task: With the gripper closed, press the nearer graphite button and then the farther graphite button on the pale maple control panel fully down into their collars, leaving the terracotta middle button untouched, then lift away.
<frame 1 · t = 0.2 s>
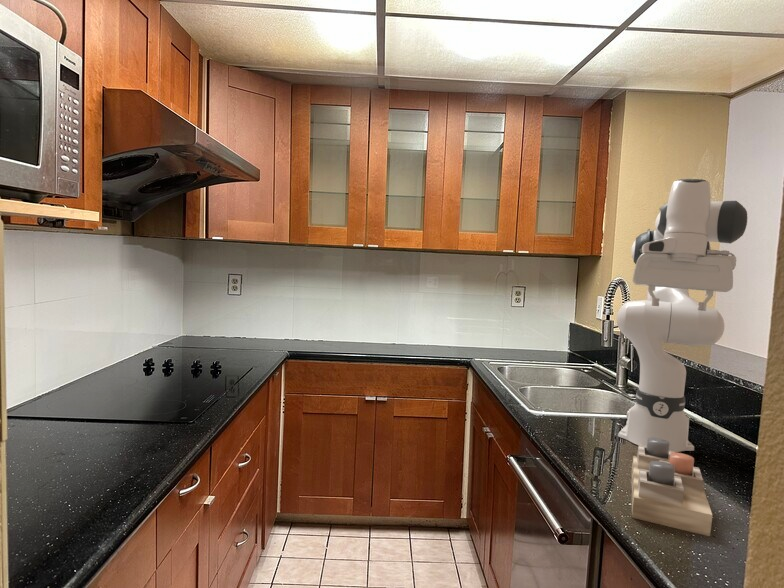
hand: (678, 308, 123), 39 cm above the table, tool pointing down, fingers open, 8 cm apart
middle button: (681, 463, 110), point 8 cm above the table, slide at 0.0 cm
button 1: (657, 447, 119), point 8 cm above the table, slide at 0.0 cm
control panel: (665, 500, 112), on the table
button 2: (661, 472, 105), point 8 cm above the table, slide at 0.0 cm
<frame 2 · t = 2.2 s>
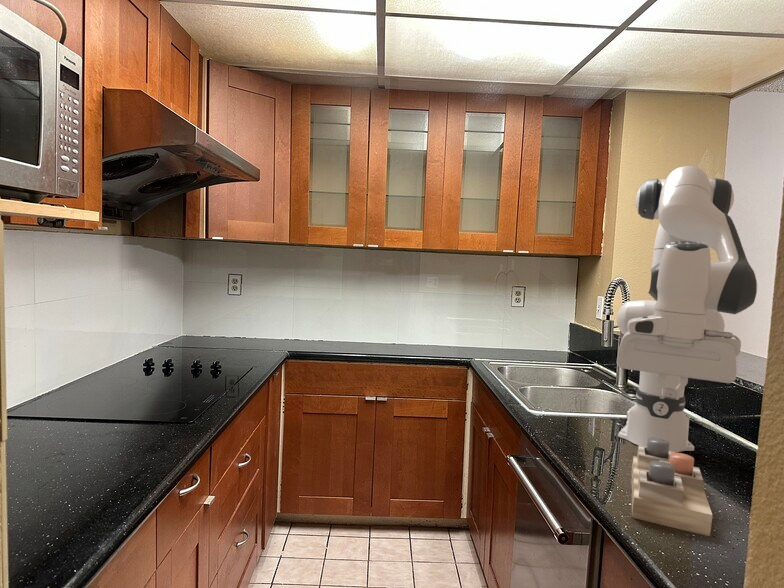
hand: (670, 398, 103), 23 cm above the table, tool pointing down, fingers closed
nothing on the table moved.
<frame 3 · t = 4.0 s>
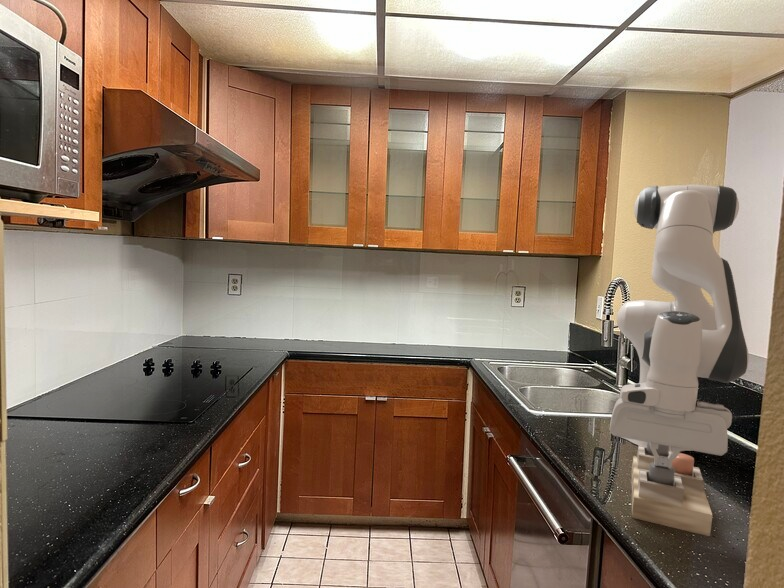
hand: (662, 466, 104), 10 cm above the table, tool pointing down, fingers closed, pressing on button 2
button 2: (661, 474, 105), point 8 cm above the table, slide at 0.3 cm, touching gripper
everything else where it was.
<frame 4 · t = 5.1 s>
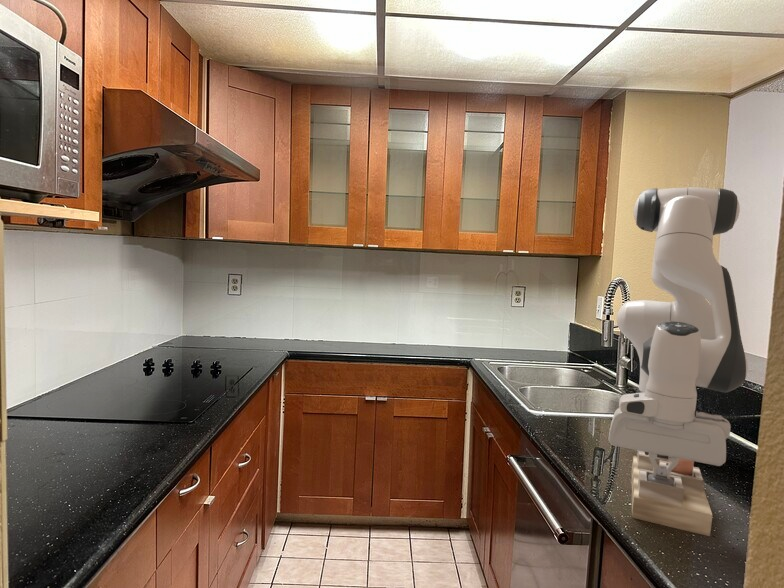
hand: (661, 476, 105), 8 cm above the table, tool pointing down, fingers closed
button 2: (660, 485, 105), point 6 cm above the table, slide at 2.7 cm
everything else where it was.
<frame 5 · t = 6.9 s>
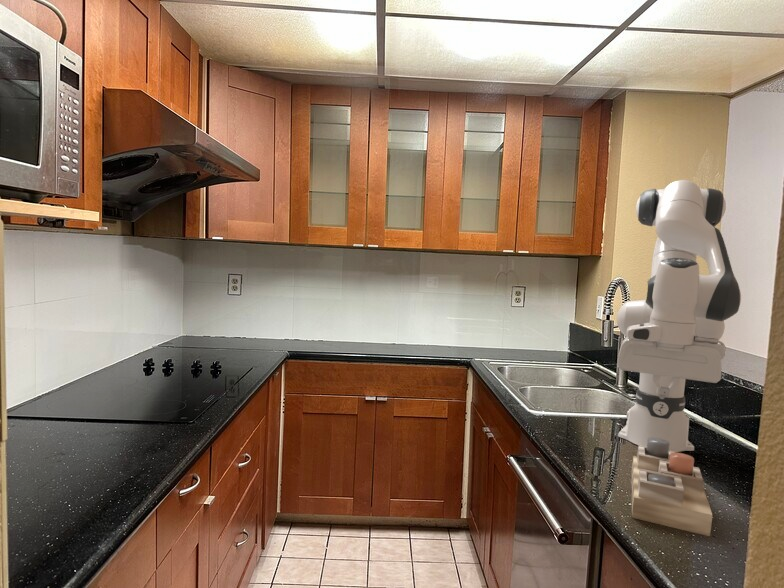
hand: (663, 395, 118), 20 cm above the table, tool pointing down, fingers closed
nothing on the table moved.
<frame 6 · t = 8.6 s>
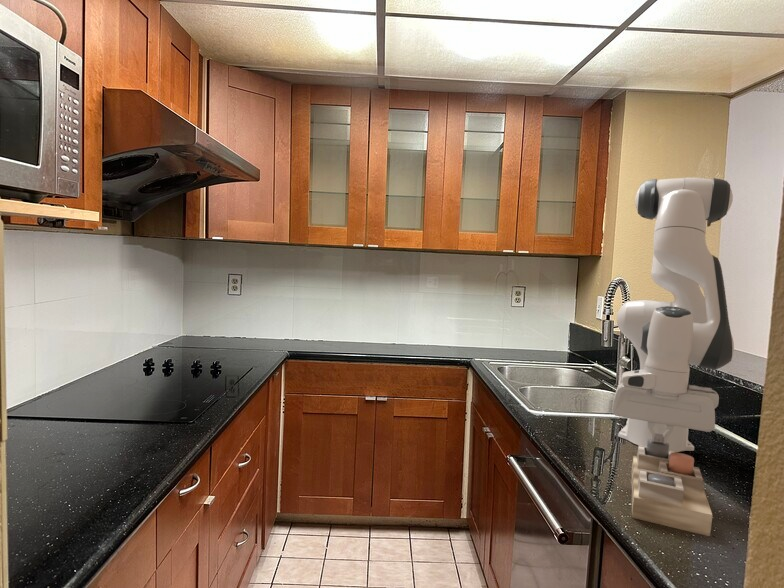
hand: (658, 442, 119), 9 cm above the table, tool pointing down, fingers closed, pressing on button 1
button 1: (657, 449, 119), point 8 cm above the table, slide at 0.4 cm, touching gripper
everything else where it was.
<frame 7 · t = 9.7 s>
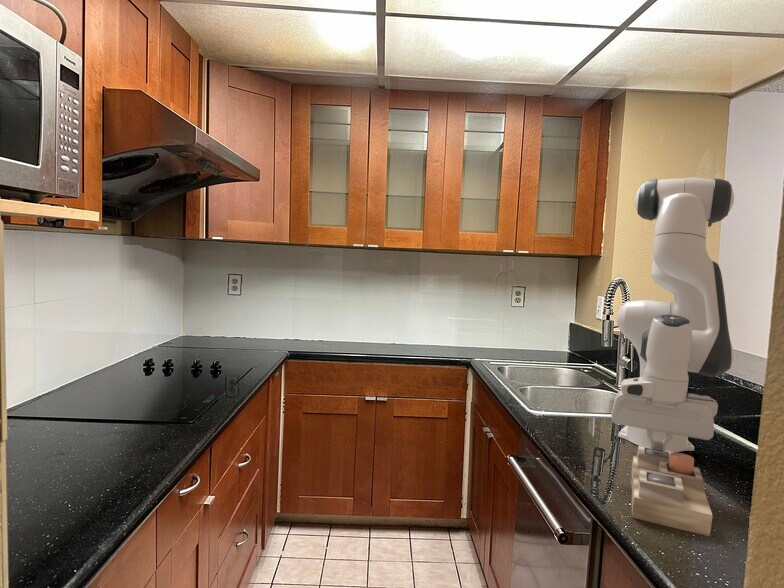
hand: (657, 450, 119), 8 cm above the table, tool pointing down, fingers closed
button 1: (656, 459, 119), point 6 cm above the table, slide at 2.7 cm
everything else where it was.
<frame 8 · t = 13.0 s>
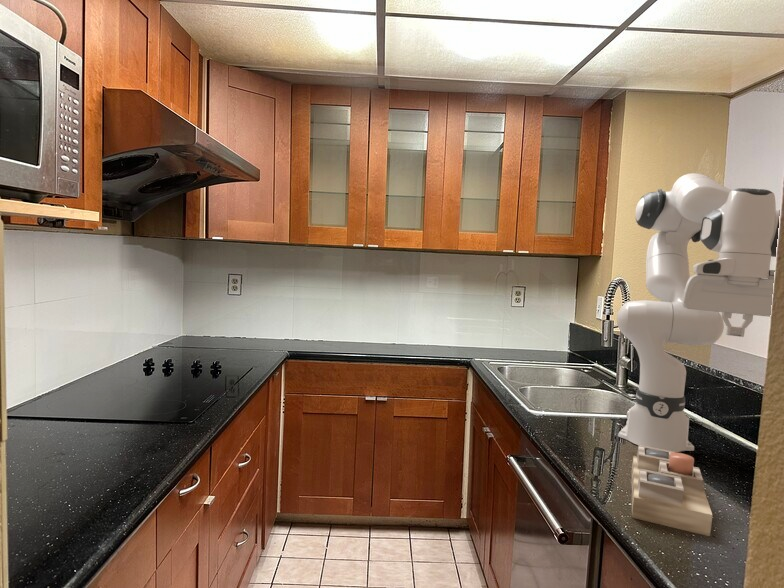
hand: (734, 335, 110), 35 cm above the table, tool pointing down, fingers closed
nothing on the table moved.
at the end: button 2 slide at 2.7 cm; button 1 slide at 2.7 cm; middle button slide at 0.0 cm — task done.
